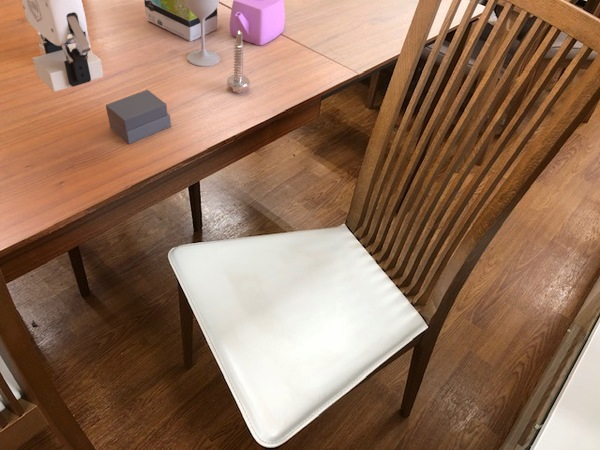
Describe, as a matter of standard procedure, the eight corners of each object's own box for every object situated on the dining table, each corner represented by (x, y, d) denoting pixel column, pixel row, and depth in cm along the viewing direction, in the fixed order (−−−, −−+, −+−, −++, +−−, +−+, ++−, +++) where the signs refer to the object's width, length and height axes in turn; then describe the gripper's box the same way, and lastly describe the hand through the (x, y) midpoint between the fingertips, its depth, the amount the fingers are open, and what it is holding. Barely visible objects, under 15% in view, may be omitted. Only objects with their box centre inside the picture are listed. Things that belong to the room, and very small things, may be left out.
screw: (231, 81, 109) (252, 86, 108) (223, 93, 105) (245, 98, 105) (231, 22, 99) (254, 27, 99) (222, 32, 96) (247, 38, 95)
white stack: (55, 66, 106) (49, 44, 102) (41, 55, 108) (35, 32, 105) (92, 55, 110) (88, 33, 107) (78, 44, 113) (73, 22, 109)
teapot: (254, 54, 118) (255, 10, 111) (217, 39, 121) (216, -4, 114) (292, 28, 130) (296, -13, 122) (258, 15, 133) (260, -25, 125)
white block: (54, 92, 75) (49, 73, 73) (36, 75, 77) (31, 57, 75) (103, 76, 79) (100, 59, 77) (85, 61, 82) (82, 44, 80)
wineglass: (186, 66, 111) (180, -35, 96) (186, 50, 116) (180, -49, 101) (221, 67, 112) (220, -33, 97) (219, 50, 118) (218, -47, 103)
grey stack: (129, 144, 91) (124, 120, 87) (110, 128, 93) (105, 104, 90) (171, 126, 95) (168, 103, 92) (152, 111, 98) (149, 88, 95)
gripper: (-18, -70, 67) (20, 57, 80) (44, -24, 59) (75, 107, 72) (38, -77, 71) (66, 45, 84) (102, -35, 64) (122, 92, 76)
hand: (70, 73), depth 78 cm, fingers closed on white block, 5 cm apart
